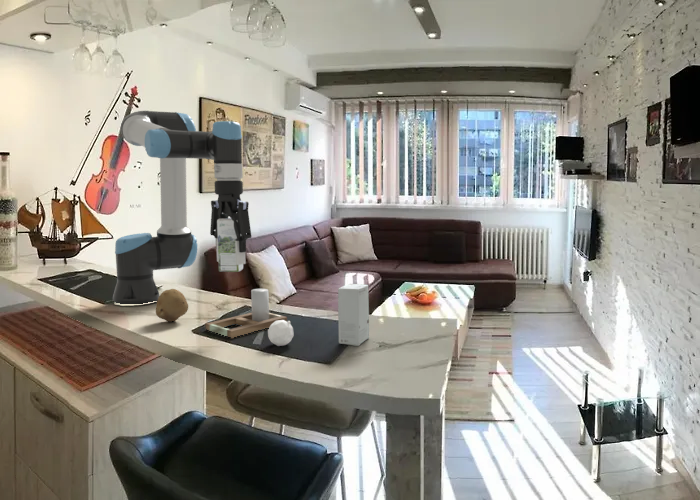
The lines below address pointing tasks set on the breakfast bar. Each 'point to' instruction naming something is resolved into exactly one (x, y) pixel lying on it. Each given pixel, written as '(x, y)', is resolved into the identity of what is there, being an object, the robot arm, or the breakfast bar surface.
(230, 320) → the socket board
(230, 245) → the syrup box
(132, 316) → the breakfast bar surface
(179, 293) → the brown potato
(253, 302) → the grey canister
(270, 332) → the ornament
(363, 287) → the skincare box
